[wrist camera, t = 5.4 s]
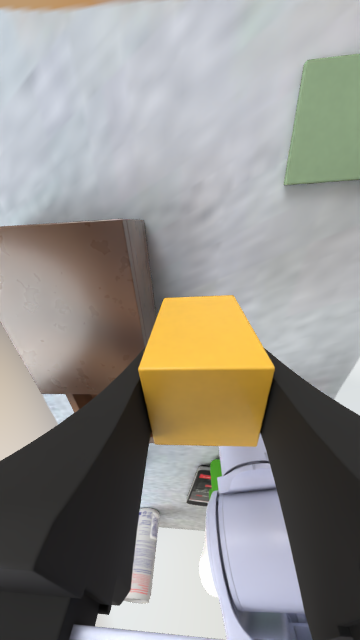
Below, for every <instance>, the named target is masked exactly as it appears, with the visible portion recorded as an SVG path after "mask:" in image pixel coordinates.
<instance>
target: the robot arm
mask: <svg viewBox="0 0 360 640" xmlns="http://www.w3.org/2000/svg"><path fill="white" fill-rule="evenodd" d="M263 348H264V347H263ZM145 349H146V347H145V348H144V349H143V350H142V351H141V352H140V353H139V354H138V355H137V357H136V358H135V359H134V360H133V361H132V362H131V363H130V364H129V365H128V366H127V367H126V368H125V370H124V371H123V372H122V373H121V374H120V375H119V376H118V377H117V378H116V379H114V380H113V381H112V382H111V383H110V384H109V385H108V386H107V387H106V388H105V389H104V390H103V391H102V392H100V393H99V394H98V395H97V396H96V397H94V398H93V399H92V400H91V401H90V402H88V403H87V404H86V405H85V406H83V407H82V408H81V409H79V410H78V411H76V412H75V413H74V414H72V415H71V416H70V417H68V418H67V419H65V420H64V421H63V422H61V423H60V424H59V425H57V426H56V427H54V428H53V429H51V430H50V431H48V432H47V433H45V434H44V435H42V436H41V437H39V438H38V439H36V440H34V441H33V442H31V443H30V444H28V445H26V446H25V447H23V448H22V449H20V450H18V451H17V452H15V453H13V454H12V455H10V456H8V457H6V458H5V459H3V460H1V461H0V640H223V639H212V638H203V637H192V636H183V635H173V634H163V633H153V632H143V631H133V630H124V629H114V628H105V627H95V622H96V619H97V615H98V614H107V615H109V613H110V610H111V605H120V604H121V603H122V602H123V601H124V599H125V598H126V597H127V595H128V593H129V592H130V590H131V582H132V572H133V563H134V554H135V545H136V536H137V527H138V519H139V511H140V503H141V495H142V488H143V480H144V473H145V466H146V459H147V452H148V446H149V441H150V436H151V432H152V430H151V425H150V421H149V416H148V412H147V407H146V403H145V398H144V394H143V389H142V385H141V380H140V376H139V371H138V368H139V365H140V362H141V360H142V357H143V354H144V351H145ZM264 349H265V348H264ZM265 351H266V353H267V355H268V356H269V358H270V360H271V361H272V363H273V365H274V367H275V371H274V375H273V379H272V384H271V388H270V392H269V397H268V401H267V405H266V410H265V414H264V418H263V422H262V427H261V431H260V435H259V440H258V444H257V446H256V447H243V446H218V447H219V455H220V463H221V471H222V476H221V477H218V478H217V481H218V490H217V491H213V493H212V494H211V497H210V500H209V502H208V505H207V512H206V537H207V548H208V556H209V563H210V569H211V574H212V578H213V582H214V586H215V589H216V592H217V594H218V597H219V601H220V606H221V611H222V615H223V620H224V626H225V632H226V637H227V640H360V416H359V415H358V414H356V413H354V412H353V411H351V410H349V409H348V408H346V407H344V406H343V405H341V404H339V403H338V402H336V401H335V400H333V399H332V398H330V397H329V396H327V395H325V394H324V393H322V392H321V391H319V390H318V389H316V388H315V387H314V386H312V385H311V384H309V383H308V382H307V381H305V380H304V379H302V378H301V377H300V376H298V375H297V374H296V373H294V372H293V371H292V370H291V369H289V368H288V367H287V366H285V365H284V364H283V363H282V362H280V361H279V360H278V359H277V358H276V357H274V356H273V355H272V354H271V353H270V352H268V351H267V350H266V349H265Z"/></svg>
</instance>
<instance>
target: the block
mask: <svg viewBox="0 0 360 640" xmlns="http://www.w3.org/2000/svg"><path fill="white" fill-rule="evenodd" d="M138 371H139V376H140V380H141V385H142V389H143V394H144V398H145V403H146V407H147V412H148V416H149V421H150V425H151V430H152V434H153V439H154V443H155V444H157V445H200V446H243V447H256V446H257V444H258V440H259V435H260V431H261V427H262V422H263V418H264V414H265V410H266V405H267V401H268V397H269V392H270V388H271V384H272V379H273V375H274V371H275V367H274V365H273V363H272V361H271V360H270V358H269V356H268V355H267V353H266V351H265V349H264V348H263V346H262V344H261V342H260V341H259V339H258V337H257V335H256V334H255V332H254V330H253V328H252V327H251V325H250V323H249V321H248V320H247V318H246V316H245V314H244V313H243V311H242V309H241V308H240V306H239V304H238V302H237V301H236V299H235V297H234V296H233V295H227V296H201V297H176V298H164V299H163V302H162V305H161V308H160V310H159V313H158V316H157V318H156V321H155V324H154V327H153V329H152V332H151V335H150V338H149V340H148V343H147V346H146V349H145V351H144V354H143V357H142V360H141V362H140V365H139V368H138Z"/></svg>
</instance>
